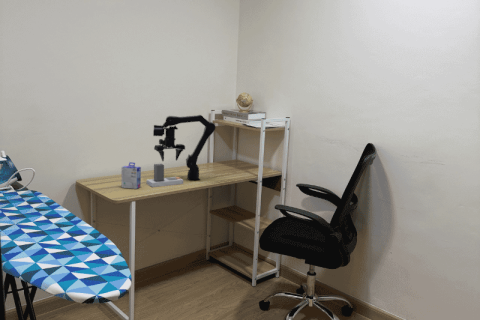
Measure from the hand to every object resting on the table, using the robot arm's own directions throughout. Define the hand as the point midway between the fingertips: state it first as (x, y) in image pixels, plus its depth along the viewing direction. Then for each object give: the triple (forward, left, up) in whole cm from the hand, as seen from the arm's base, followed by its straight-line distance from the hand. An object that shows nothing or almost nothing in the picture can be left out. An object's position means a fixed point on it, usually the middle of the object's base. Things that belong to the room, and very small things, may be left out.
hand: (169, 160), depth 261 cm
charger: (+11, +9, -12) cm, 18 cm away
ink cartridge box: (+28, +9, -12) cm, 32 cm away
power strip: (+7, +9, -12) cm, 17 cm away
